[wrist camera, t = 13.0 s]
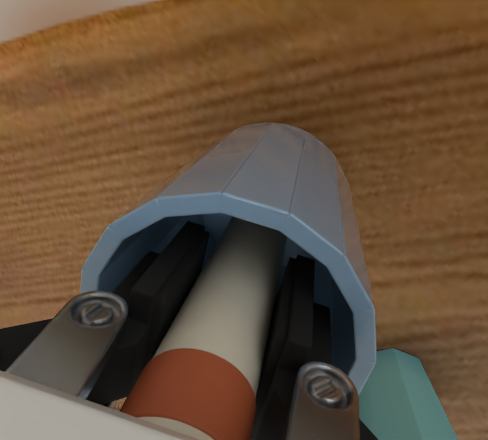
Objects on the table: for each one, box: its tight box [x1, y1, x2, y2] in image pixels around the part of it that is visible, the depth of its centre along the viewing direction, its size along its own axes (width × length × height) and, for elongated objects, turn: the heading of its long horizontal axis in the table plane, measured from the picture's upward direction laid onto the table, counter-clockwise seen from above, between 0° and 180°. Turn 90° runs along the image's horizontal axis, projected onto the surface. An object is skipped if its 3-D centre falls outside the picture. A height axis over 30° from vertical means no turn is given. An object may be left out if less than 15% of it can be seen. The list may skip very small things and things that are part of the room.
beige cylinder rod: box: [120, 216, 287, 440], centre depth 12 cm, size 2×2×14 cm
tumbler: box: [80, 122, 377, 396], centre depth 14 cm, size 8×8×10 cm
